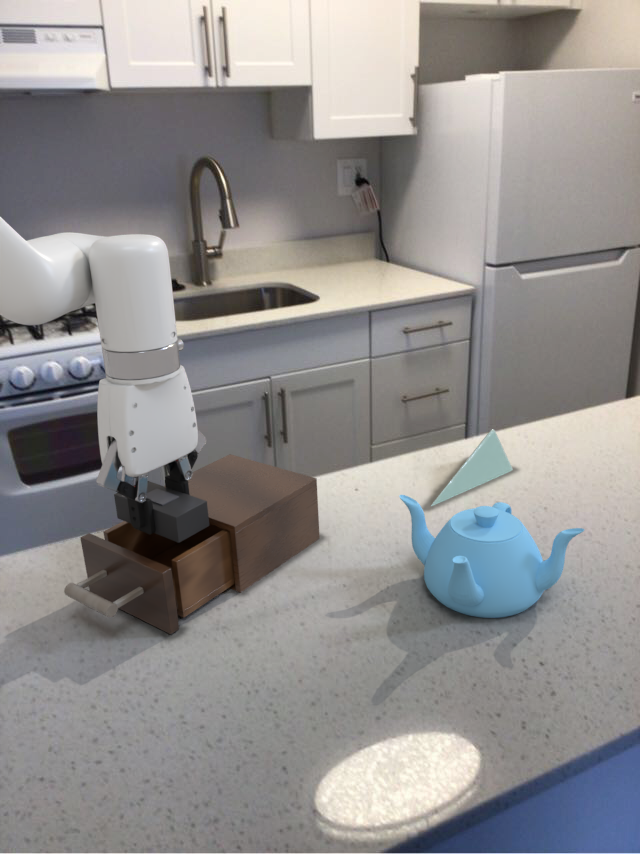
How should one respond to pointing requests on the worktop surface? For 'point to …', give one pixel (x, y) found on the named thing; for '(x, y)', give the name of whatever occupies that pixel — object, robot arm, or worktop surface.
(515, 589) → the teapot
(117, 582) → the drawer
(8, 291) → the robot arm
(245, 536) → the cabinet
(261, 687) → the worktop surface
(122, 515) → the remote
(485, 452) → the pale green wedge
